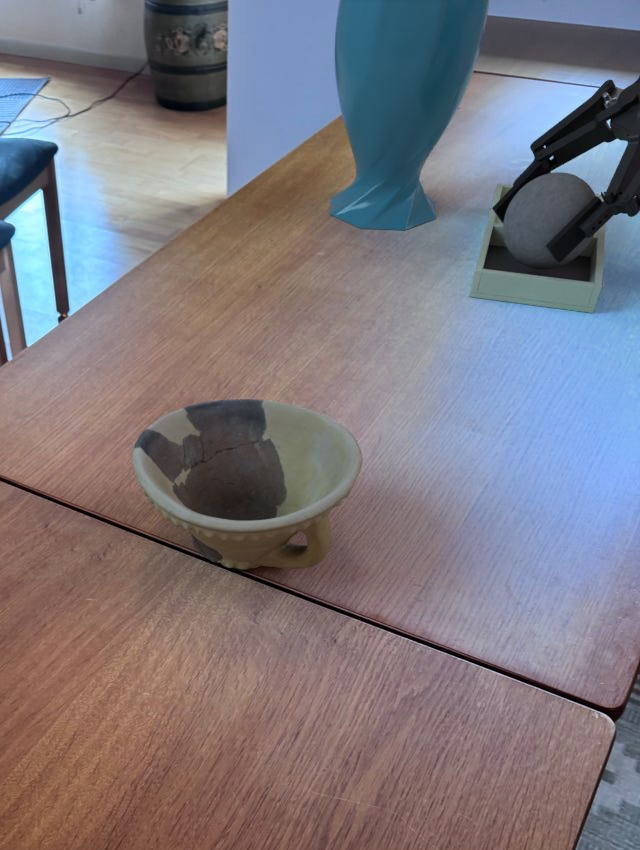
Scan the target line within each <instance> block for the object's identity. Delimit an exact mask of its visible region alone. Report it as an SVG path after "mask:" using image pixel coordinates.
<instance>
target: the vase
mask: <svg viewBox="0 0 640 850" xmlns="http://www.w3.org/2000/svg"><path fill="white" fill-rule="evenodd" d="M489 8H490V0H339V1H338V7H337V15H336V21H335V22H336V23H335V35H334V75H335V76H334V77H335V84H336V93H337V98H338V103H339V107H340V112H341V117H342V121H343V124H344V128H345V132H346V137H347V139H348V143H349V146H350V148H351V152H352V156H353V160H354V164H355V177H354V180H353V181H352V183H351V184H350V185H348V186H347V187H346V188H344V189H342V190H341V191H339V192H338V193H336V194H335V195H333V196H331V197H330V207H329V208H330V209H329V212H328V214H329V215H330V216H332V217H335V218H336V219H339V220H342V221H344V222H345V223H348V224H350V225H352V226H354V227H356V228H358V229H364V230H365V229H368V230H369V229H372V230H395V231H407V230H409V229H411V228H415V227H417V226H420V225H423V224H425V223H428V222H430V221H434V220H437V215H436V206H435V203H436V202H435V201H434V199H432V198H431V197H430V196H429V195H428V194H427V193H425V191H424V188H423V185H422V183H421V180H420V177H421V173H422V170H423V168H424V166H425V163H426V162H427V160H428V159H429V156H430V155H431V153H432V152H433V151H434V150H435V148H436V146H437V145H438V143H439V141H440V140H441V139H442V137H443V136H444V134H445V132H446V131H447V129H448V127H449V126H450V124H451V122H452V120H453V118H454V117H455V115H456V113H457V111H458V109H459V107H460V105H461V103H462V100H463V98H464V97H465V94H466V92H467V90H468V87H469V84H470V82H471V79H472V77H473V74H474V71H475V68H476V66H477V62H478V60H479V55H480V51H481V48H482V44H483V40H484V36H485V32H486V26H487V22H488V21H487V20H488V16H489V15H488V14H489Z"/></svg>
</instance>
